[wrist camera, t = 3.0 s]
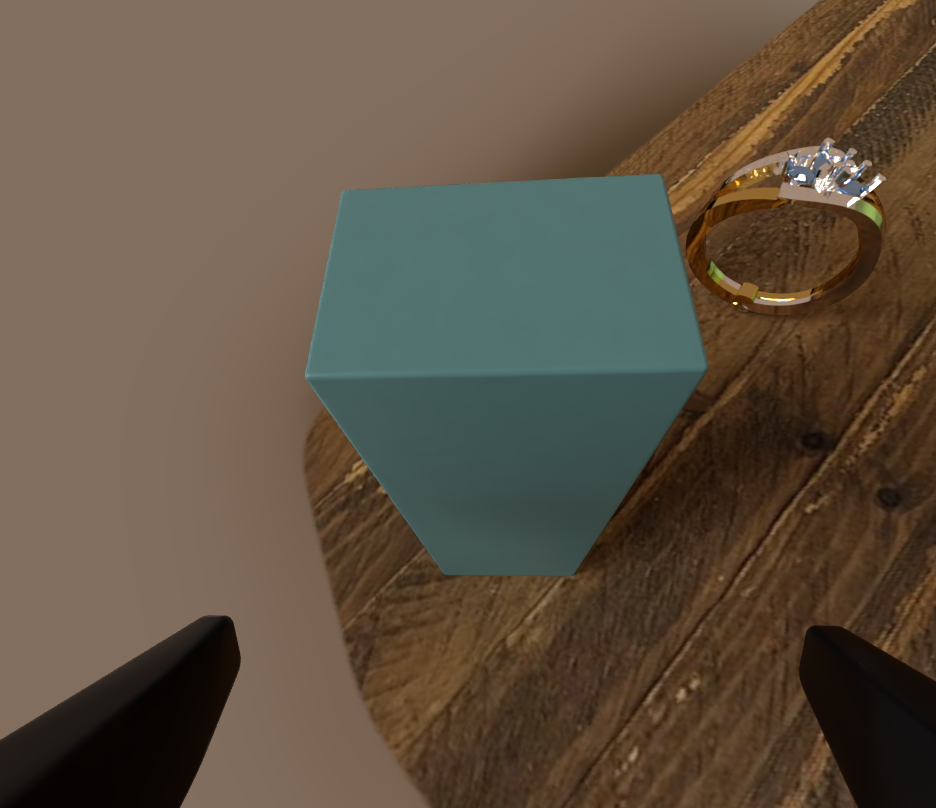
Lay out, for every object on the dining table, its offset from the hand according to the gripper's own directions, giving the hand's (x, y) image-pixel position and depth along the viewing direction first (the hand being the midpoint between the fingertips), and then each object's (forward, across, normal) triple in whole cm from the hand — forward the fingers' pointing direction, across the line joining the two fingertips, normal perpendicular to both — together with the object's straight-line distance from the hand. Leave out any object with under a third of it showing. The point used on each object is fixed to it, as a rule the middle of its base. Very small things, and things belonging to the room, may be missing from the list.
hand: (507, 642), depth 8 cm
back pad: (+11, 0, +5) cm, 12 cm away
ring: (+19, -12, -3) cm, 23 cm away
